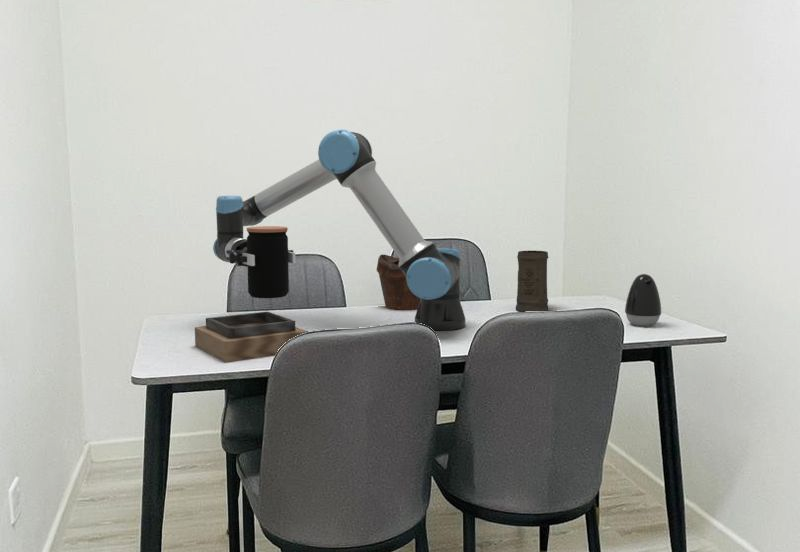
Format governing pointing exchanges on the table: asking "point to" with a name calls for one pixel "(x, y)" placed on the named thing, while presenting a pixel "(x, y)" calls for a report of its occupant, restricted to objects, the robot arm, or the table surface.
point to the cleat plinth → (245, 335)
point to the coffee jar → (268, 262)
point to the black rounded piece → (643, 302)
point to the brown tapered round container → (395, 285)
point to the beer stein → (532, 281)
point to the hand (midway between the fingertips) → (274, 259)
